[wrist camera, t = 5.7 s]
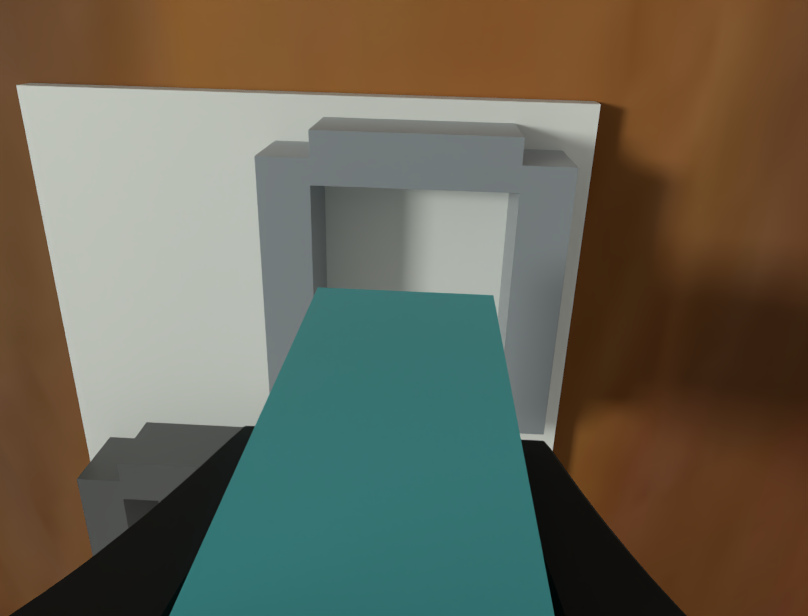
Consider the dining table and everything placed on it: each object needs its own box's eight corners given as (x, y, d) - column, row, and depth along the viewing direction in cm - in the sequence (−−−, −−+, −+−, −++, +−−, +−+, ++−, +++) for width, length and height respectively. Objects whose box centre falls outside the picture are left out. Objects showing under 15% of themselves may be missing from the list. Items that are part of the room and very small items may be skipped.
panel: (523, 634, 23) (532, 704, 21) (130, 611, 24) (95, 677, 22) (595, 100, 16) (622, 116, 14) (30, 83, 17) (-39, 93, 14)
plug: (476, 485, 13) (512, 945, 7) (322, 477, 13) (209, 922, 7) (492, 295, 11) (562, 657, 5) (317, 287, 11) (160, 632, 5)
